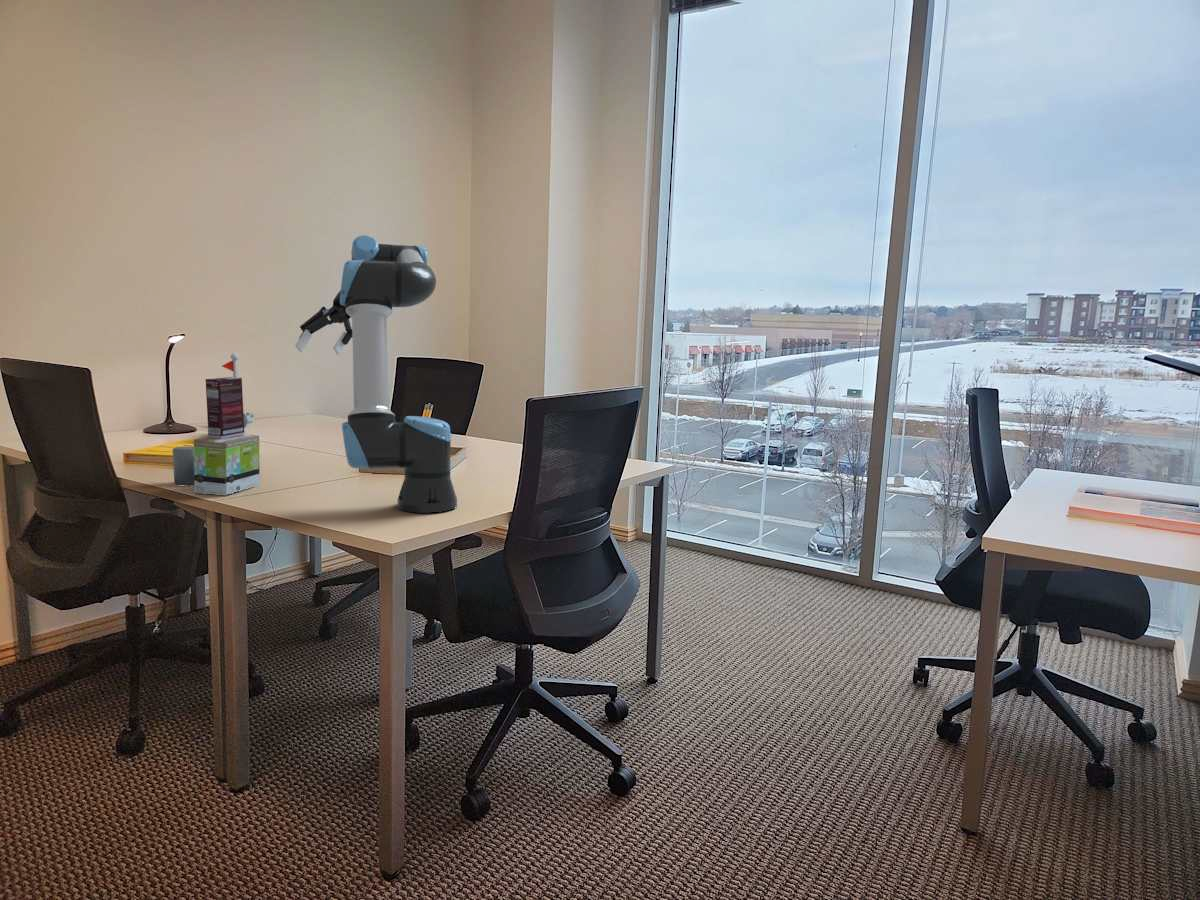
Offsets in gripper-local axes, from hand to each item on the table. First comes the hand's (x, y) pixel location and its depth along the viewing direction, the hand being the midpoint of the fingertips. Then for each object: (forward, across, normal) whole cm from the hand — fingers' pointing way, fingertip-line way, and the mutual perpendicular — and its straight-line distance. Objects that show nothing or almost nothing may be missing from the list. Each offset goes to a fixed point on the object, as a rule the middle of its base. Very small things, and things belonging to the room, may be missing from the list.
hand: (317, 350), depth 242 cm
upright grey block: (+45, +24, -8) cm, 52 cm away
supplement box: (+35, +9, +2) cm, 36 cm away
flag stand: (-17, +93, -70) cm, 118 cm away
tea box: (+45, +9, -9) cm, 47 cm away
